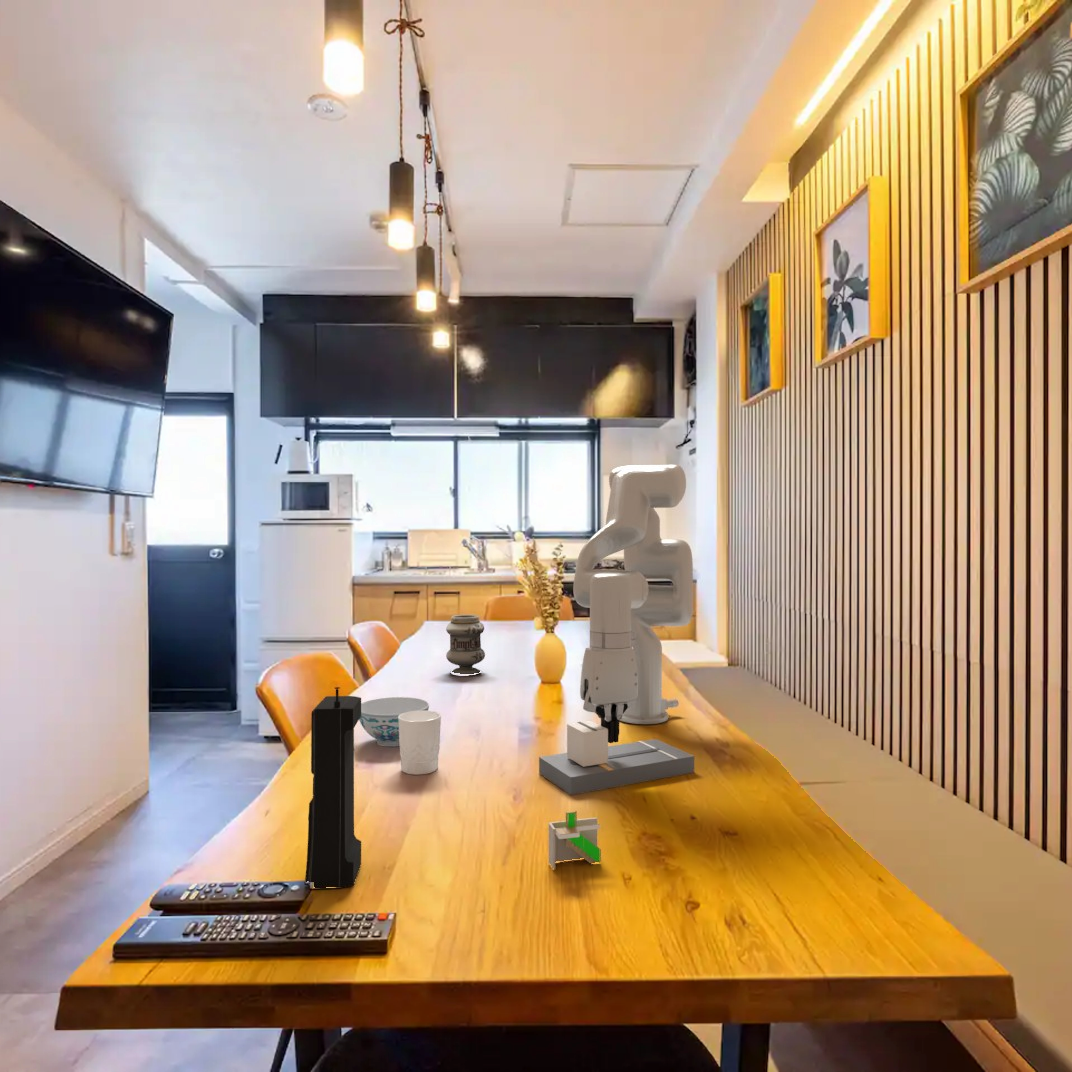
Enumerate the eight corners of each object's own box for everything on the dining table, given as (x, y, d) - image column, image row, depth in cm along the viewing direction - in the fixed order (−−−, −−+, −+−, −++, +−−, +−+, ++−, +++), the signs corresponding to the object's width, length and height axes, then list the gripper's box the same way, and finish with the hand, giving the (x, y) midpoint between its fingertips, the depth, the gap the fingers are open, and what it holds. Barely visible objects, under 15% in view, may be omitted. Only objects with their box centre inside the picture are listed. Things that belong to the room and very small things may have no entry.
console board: (655, 754, 143) (655, 738, 143) (694, 772, 132) (694, 755, 132) (539, 773, 132) (539, 756, 132) (570, 795, 121) (570, 776, 121)
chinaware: (442, 736, 155) (442, 701, 155) (401, 756, 141) (401, 717, 141) (385, 728, 161) (385, 694, 161) (341, 747, 147) (341, 709, 147)
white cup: (448, 764, 136) (448, 712, 136) (428, 778, 129) (428, 722, 129) (411, 760, 139) (411, 708, 139) (390, 773, 132) (390, 719, 132)
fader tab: (590, 753, 133) (590, 720, 133) (608, 762, 127) (608, 728, 127) (566, 756, 131) (566, 723, 131) (583, 766, 125) (583, 732, 125)
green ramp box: (606, 874, 94) (606, 813, 94) (556, 880, 92) (557, 818, 92) (596, 860, 98) (596, 802, 98) (548, 866, 96) (548, 807, 96)
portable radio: (317, 861, 97) (317, 676, 96) (362, 859, 97) (362, 675, 97) (303, 890, 89) (303, 689, 89) (353, 888, 89) (352, 688, 89)
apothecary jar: (451, 669, 230) (451, 613, 230) (488, 670, 228) (488, 613, 228) (441, 676, 218) (441, 617, 218) (480, 678, 216) (480, 618, 216)
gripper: (633, 635, 138) (632, 730, 138) (564, 640, 131) (564, 740, 131) (656, 640, 131) (655, 741, 131) (585, 646, 124) (584, 752, 125)
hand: (610, 740), depth 131 cm, fingers closed
